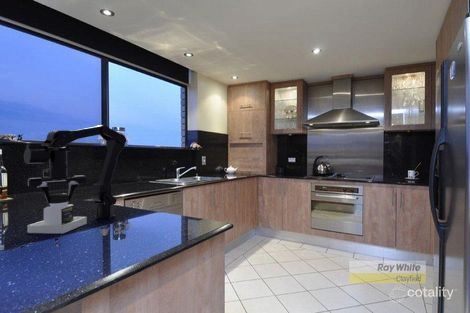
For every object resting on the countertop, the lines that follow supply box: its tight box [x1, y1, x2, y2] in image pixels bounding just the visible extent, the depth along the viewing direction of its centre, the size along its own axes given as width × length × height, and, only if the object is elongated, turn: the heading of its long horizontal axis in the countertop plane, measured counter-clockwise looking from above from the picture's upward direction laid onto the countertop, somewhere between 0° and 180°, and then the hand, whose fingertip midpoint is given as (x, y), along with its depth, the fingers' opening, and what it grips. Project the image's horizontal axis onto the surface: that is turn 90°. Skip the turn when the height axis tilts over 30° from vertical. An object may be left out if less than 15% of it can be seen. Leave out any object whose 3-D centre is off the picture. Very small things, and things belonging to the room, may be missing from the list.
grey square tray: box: [27, 216, 88, 234], centre depth 101 cm, size 14×14×3 cm
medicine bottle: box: [43, 192, 75, 225], centre depth 101 cm, size 7×7×12 cm
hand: (58, 202), depth 101 cm, fingers closed on medicine bottle, 6 cm apart
